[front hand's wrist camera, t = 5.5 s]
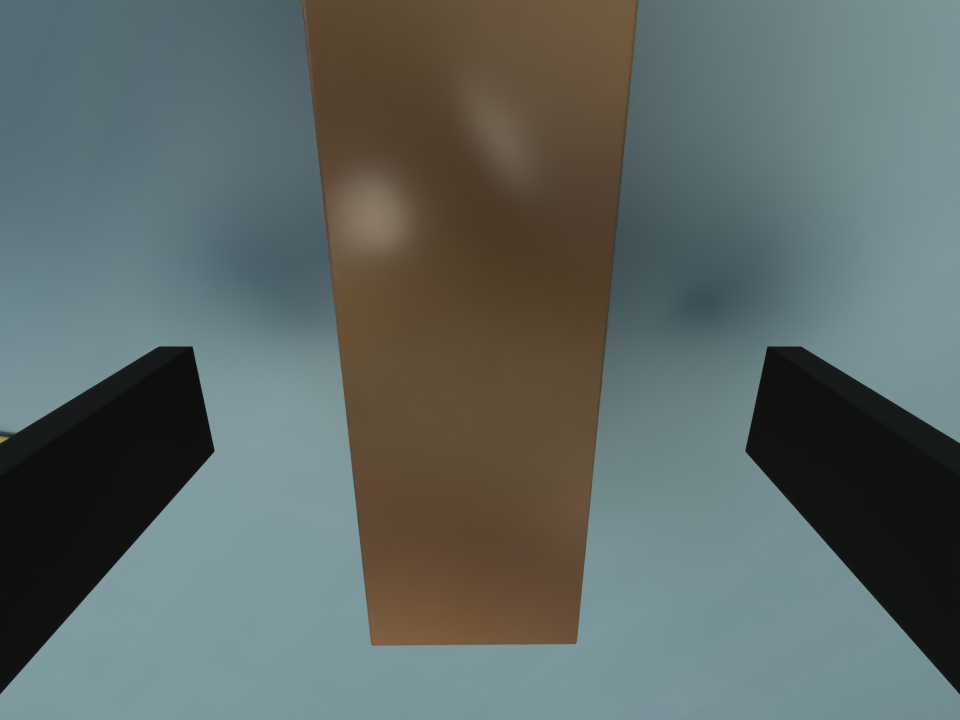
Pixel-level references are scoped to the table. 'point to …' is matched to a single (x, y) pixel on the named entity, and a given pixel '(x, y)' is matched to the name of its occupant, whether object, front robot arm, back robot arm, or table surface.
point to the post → (471, 296)
